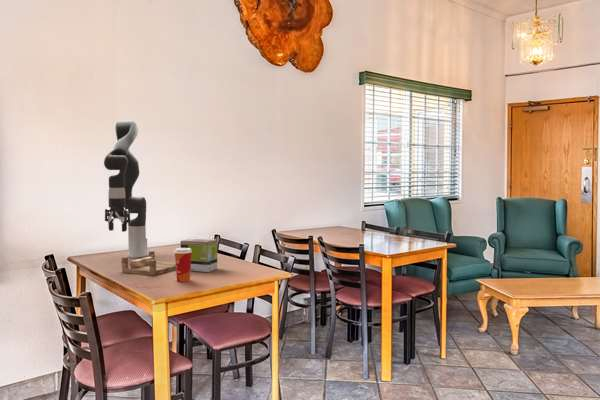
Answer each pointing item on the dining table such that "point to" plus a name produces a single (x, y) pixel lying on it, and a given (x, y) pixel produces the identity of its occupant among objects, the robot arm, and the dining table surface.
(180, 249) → the paper cup
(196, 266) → the tea box
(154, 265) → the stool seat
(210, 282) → the dining table surface
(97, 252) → the dining table surface
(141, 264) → the tan curved wooden piece
